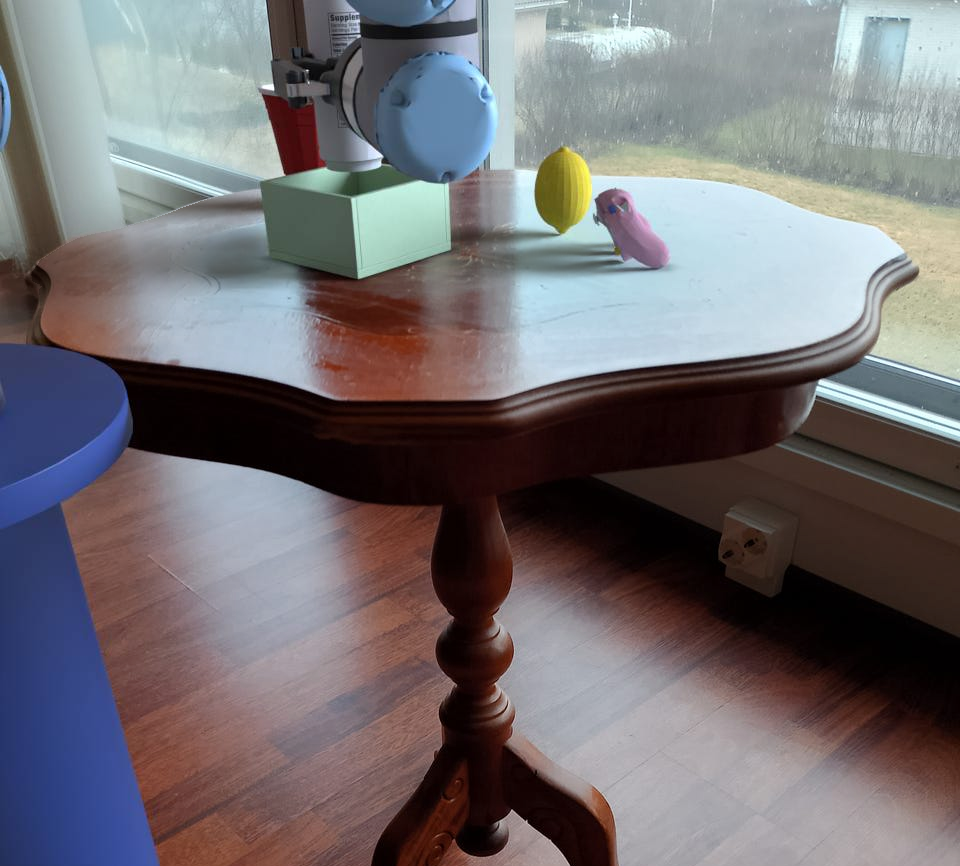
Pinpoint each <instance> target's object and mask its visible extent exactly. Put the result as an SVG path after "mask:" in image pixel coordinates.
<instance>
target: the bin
mask: <svg viewBox="0 0 960 866" xmlns="http://www.w3.org/2000/svg"><path fill="white" fill-rule="evenodd" d="M259 186H260V187H259V188H260V195H261V201H262V209H263V217H264V225H265V233H266V240H267V247H268V254H269V258H270V259H273V260H274V259H275V260H278V261H282V262H286V263H290V264H294V265H299V266H302V267H306V268H310V269H315V270H319V271H323V272H326V273H331V274H335V275H339V276H343V277H346V278H351V279H354V280H361V279H364V278H367V277H370V276H372V275H373V276H374V275H376V274H379V273H383V272H386V271H390V270H392V269H395V268H399V267H401V266H406V265H407V264H411V263H414V262H417V261H421V260H424V259H426V258H430V257H434V256H436V255H439V254H442V253H445V252H448V251H451V250H452V246H451V245H452V243H451V218H450V217H451V215H450V214H451V213H450V212H451V211H450V191H449V190H450V188H449V183H446V184H435V183H428V182H424V181H421V180H417V179H415V178H413V177H410V176H406V175H405V174H403V173H401V172H399V171H397V170H396V168H395V167H392V166H391V165H390V164H389V163H388V164H386V163H381V166H380V167H379V168H376V169H373V170H368V171H360V172H336V171H331V170H328V169H327V167H322V168H318V169H313V170H309V171H304V172H300V173H295V174H291V175H286V176H285V175H282V176H279V177H273V178H269V179H265V180H260V181H259Z"/></svg>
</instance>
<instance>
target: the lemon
mask: <svg viewBox="0 0 960 866" xmlns="http://www.w3.org/2000/svg"><path fill="white" fill-rule="evenodd" d="M591 177H592V176H591V172H590V170H589V166H588V165H587V163H586V161H585V159H584V158H583V157H581V156H580V155H579V154H578V153H577V152H574V151H572V150H570V148H569V147H568V146H560V147H559V148H558V150H556V151H554V152H552V153H550V154H549V155H548V156H546V157H545V158H544V159H543V161H542V162H541V163H540V165H539V167H538V170H537V173H536V177H535V182H534V193H533V194H534V195H533V197H534V203H535V208H536V211H537V213H538V215H539V216H540V218H541V219H542V220H543V222H544V223H546V224H547V225H549V226H550V227H553V228H554V230H555V231H556V232H557V233H558V234H560V235H564V234H566V233H567V232H568V231H569V230H570V229H571V227H574V226H576V225H577V224H579V223H580V222H582V220H583V219H584V218H585V216H586V214H587V212H588V211H589V208H590V206H591V201H592V195H593V194H592V193H593V190H592V189H593V185H592V178H591Z"/></svg>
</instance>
